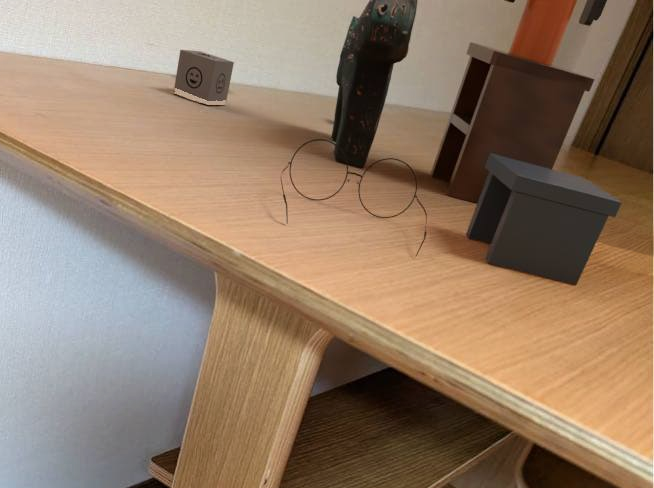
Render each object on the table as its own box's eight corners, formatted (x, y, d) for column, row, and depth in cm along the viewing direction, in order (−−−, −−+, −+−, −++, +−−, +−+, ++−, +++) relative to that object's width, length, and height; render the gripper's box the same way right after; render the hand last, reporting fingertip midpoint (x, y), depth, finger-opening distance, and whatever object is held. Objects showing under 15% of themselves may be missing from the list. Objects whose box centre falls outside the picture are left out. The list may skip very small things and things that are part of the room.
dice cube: (192, 94, 107) (200, 51, 104) (225, 105, 106) (233, 62, 103) (173, 94, 103) (180, 49, 100) (207, 105, 102) (215, 60, 99)
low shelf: (550, 256, 76) (584, 178, 72) (582, 287, 69) (622, 202, 65) (459, 233, 75) (489, 152, 71) (482, 262, 68) (517, 174, 64)
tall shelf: (510, 195, 100) (561, 67, 92) (536, 218, 91) (594, 79, 83) (426, 173, 99) (470, 41, 91) (443, 194, 90) (494, 50, 82)
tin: (544, 63, 89) (568, -1, 86) (557, 67, 86) (583, 1, 82) (503, 51, 89) (526, -14, 85) (514, 55, 85) (539, -13, 82)
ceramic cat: (374, 174, 90) (439, -43, 79) (317, 159, 89) (375, -62, 78) (363, 144, 106) (416, -40, 95) (315, 131, 106) (363, -55, 95)
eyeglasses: (428, 261, 64) (452, 195, 61) (272, 221, 63) (289, 151, 60) (412, 226, 73) (432, 167, 70) (275, 190, 72) (290, 129, 69)
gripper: (565, -221, 72) (491, -5, 81) (711, -172, 73) (622, 34, 83) (540, -207, 78) (474, -7, 87) (675, -161, 80) (597, 29, 89)
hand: (546, 13), depth 85 cm, fingers open, 8 cm apart
